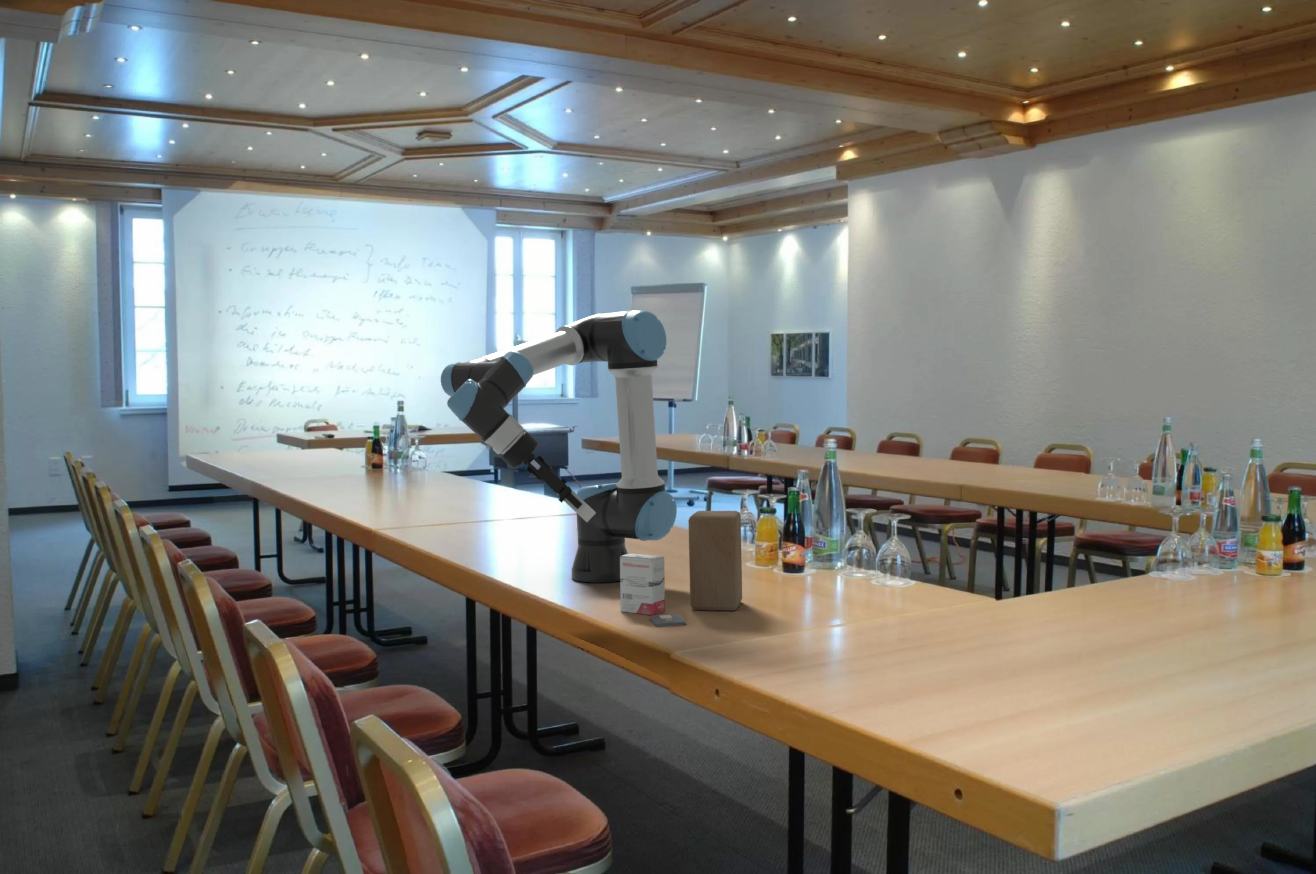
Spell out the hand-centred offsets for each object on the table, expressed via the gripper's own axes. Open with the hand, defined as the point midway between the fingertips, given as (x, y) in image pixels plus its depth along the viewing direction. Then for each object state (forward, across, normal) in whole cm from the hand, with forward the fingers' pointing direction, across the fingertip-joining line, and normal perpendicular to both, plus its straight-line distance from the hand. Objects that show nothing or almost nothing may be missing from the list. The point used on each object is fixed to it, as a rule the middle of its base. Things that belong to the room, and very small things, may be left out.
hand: (587, 513), depth 219 cm
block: (+34, -1, +4) cm, 35 cm away
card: (+25, +10, -5) cm, 28 cm away
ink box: (+23, -1, -7) cm, 24 cm away
